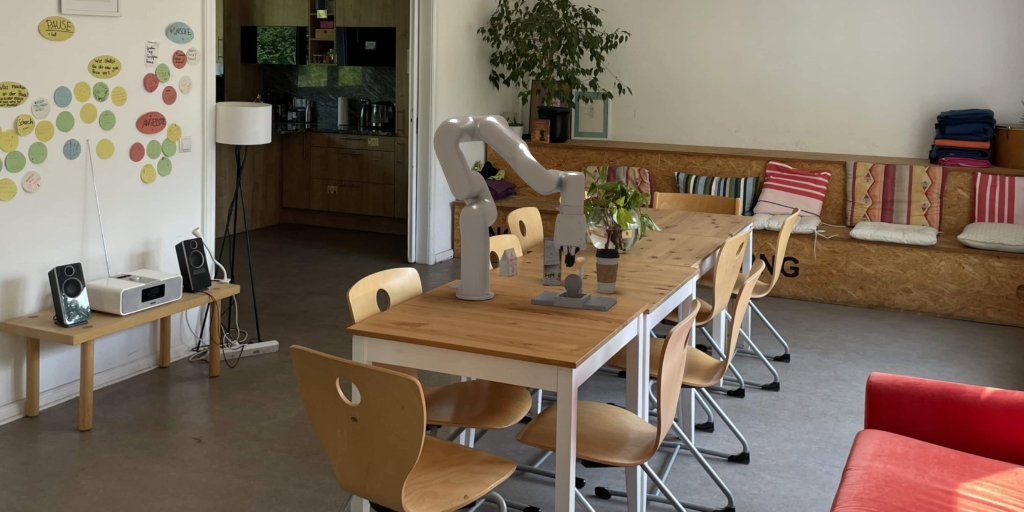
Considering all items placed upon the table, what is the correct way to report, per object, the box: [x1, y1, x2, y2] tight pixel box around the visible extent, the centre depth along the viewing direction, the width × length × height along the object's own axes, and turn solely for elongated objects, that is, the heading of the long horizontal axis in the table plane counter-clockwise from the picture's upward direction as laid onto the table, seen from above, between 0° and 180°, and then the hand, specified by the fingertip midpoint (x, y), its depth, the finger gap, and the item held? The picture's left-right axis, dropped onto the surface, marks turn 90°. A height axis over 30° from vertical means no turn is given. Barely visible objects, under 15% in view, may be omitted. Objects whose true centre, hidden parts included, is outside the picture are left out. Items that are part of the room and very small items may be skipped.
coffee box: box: [542, 236, 563, 286], centre depth 341 cm, size 9×6×16 cm
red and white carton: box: [499, 247, 519, 278], centre depth 354 cm, size 4×7×10 cm, turn 150°
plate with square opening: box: [530, 263, 618, 312], centre depth 309 cm, size 25×14×12 cm, turn 70°
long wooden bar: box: [572, 256, 585, 271], centre depth 308 cm, size 3×14×2 cm, turn 170°
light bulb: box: [563, 273, 582, 298], centre depth 307 cm, size 6×6×10 cm
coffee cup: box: [595, 247, 620, 294], centre depth 328 cm, size 8×8×15 cm
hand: (569, 266), depth 307 cm, fingers closed
